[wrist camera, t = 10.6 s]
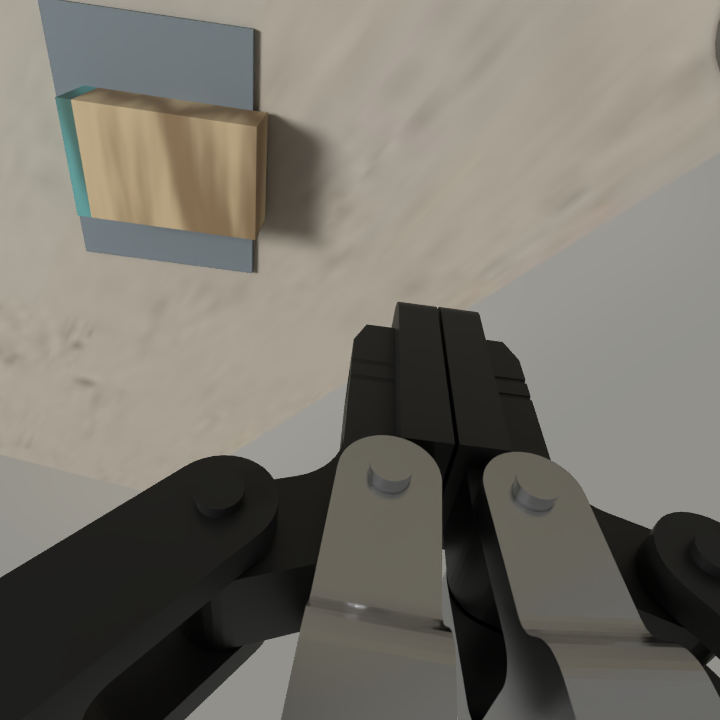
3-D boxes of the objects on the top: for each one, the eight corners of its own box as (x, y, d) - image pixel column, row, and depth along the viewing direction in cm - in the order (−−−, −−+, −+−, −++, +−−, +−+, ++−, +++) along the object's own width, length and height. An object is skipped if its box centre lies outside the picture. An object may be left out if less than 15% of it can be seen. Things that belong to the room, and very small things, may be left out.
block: (256, 126, 35) (55, 97, 35) (255, 240, 40) (77, 215, 40) (267, 112, 39) (83, 85, 38) (265, 219, 43) (101, 196, 43)
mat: (254, 28, 36) (253, 29, 36) (252, 270, 47) (251, 273, 46) (40, -4, 35) (37, -3, 35) (88, 249, 46) (86, 251, 46)
